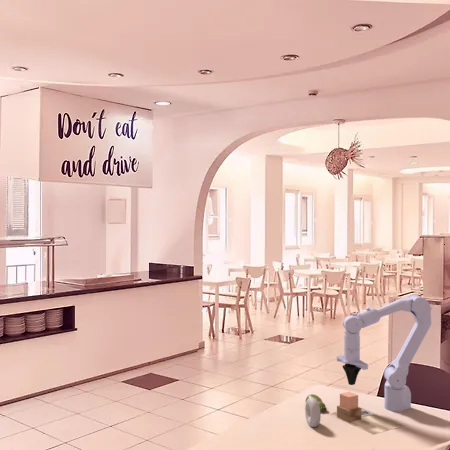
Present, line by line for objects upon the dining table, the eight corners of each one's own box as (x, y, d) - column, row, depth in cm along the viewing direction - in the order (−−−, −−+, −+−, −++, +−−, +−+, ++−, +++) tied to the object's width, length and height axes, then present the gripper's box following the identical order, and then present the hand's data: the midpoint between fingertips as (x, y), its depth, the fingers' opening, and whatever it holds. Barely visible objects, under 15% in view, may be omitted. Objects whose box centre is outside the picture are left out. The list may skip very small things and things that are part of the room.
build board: (358, 408, 209) (358, 406, 209) (404, 427, 191) (404, 425, 191) (328, 416, 202) (328, 413, 202) (373, 436, 183) (373, 433, 183)
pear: (315, 391, 213) (331, 403, 204) (314, 404, 214) (329, 416, 205) (303, 392, 211) (318, 405, 202) (302, 406, 212) (316, 418, 203)
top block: (349, 404, 201) (349, 391, 200) (358, 407, 197) (358, 395, 197) (339, 406, 198) (339, 393, 198) (348, 410, 194) (348, 397, 194)
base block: (349, 414, 202) (349, 403, 202) (361, 419, 196) (361, 407, 196) (336, 417, 199) (336, 405, 198) (348, 422, 193) (348, 411, 193)
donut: (321, 432, 187) (322, 402, 187) (312, 432, 186) (312, 403, 186) (313, 421, 197) (313, 393, 197) (303, 421, 196) (303, 393, 196)
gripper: (330, 345, 213) (330, 381, 213) (358, 353, 200) (357, 391, 201) (344, 343, 216) (344, 378, 217) (372, 351, 204) (372, 388, 204)
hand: (351, 384), depth 209 cm, fingers closed
